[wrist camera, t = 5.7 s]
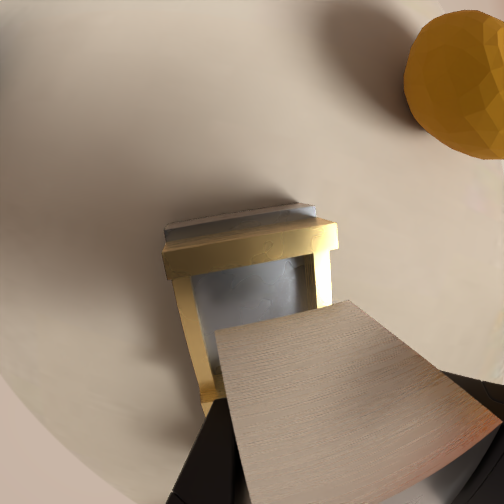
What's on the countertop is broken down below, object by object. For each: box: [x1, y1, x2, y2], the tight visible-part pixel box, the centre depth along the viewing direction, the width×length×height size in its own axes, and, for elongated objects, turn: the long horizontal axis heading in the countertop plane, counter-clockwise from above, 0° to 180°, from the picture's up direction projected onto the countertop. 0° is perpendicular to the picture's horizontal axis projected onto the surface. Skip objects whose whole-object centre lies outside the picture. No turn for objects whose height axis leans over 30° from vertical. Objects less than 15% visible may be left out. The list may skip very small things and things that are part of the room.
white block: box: [214, 300, 503, 504], centre depth 6 cm, size 4×4×6 cm
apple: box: [403, 10, 504, 160], centre depth 11 cm, size 8×8×9 cm
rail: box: [162, 203, 338, 418], centre depth 13 cm, size 6×20×8 cm, turn 8°
